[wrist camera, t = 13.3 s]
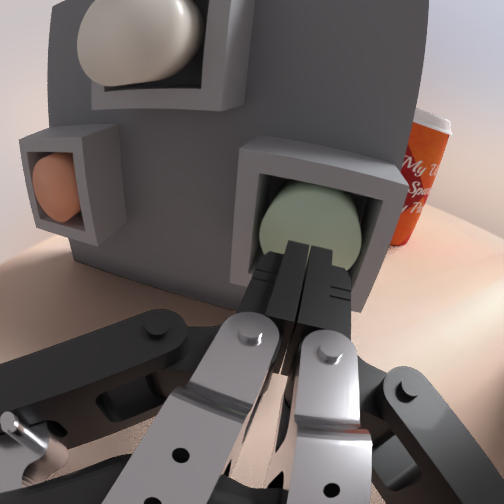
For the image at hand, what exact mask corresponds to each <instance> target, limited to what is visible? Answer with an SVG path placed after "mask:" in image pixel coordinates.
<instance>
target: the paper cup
mask: <svg viewBox="0 0 504 504" xmlns="http://www.w3.org/2000/svg"><path fill="white" fill-rule="evenodd" d="M450 130H451V122H450V121H449V120H447V119H444V118H442V117H439V116H437V115H434V114H431V113H429V112H426V111H423V110H420V109H418V108H416V109H415V114H414V119H413V123H412V128H411V132H410V137H409V141H408V145H407V149H406V153H405V157H404V161H403V165H402V168H401V172H400V173H401V174H402V176H403V177H404V179H405V180H406V182H407V183H408V185H409V186H410V187H409V190H408V193H407V196H406V199H405V202H404V205H403V209H402V212H401V214H400V217H399V220H398V223H397V226H396V229H395V232H394V234H393V237H392V240H391V242H390V245H395V246H400V245H404V244H406V243H407V241H408V240H409V238H410V236H411V234H412V232H413V230H414V228H415V225H416V223H417V221H418V219H419V216H420V214H421V212H422V209H423V207H424V205H425V202H426V200H427V197H428V195H429V192H430V190H431V187H432V184H433V182H434V179H435V176H436V174H437V171H438V168H439V165H440V162H441V159H442V157H443V153H444V151H445V147H446V144H447V141H448V138H449V135H452V132H450Z"/></svg>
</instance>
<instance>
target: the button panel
mask: <svg viewBox="0 0 504 504" xmlns="http://www.w3.org/2000/svg"><path fill="white" fill-rule="evenodd" d="M94 1H95V0H65V1H63V2H61V3H59V4H57V5H55V6H53V7H52V14H51V23H50V34H49V47H48V113H49V127H50V128H47V129H44V130H42V131H39V132H36V133H34V134H31V135H29V136H27V137H24V138H22V139H19V144H20V152H21V159H22V165H23V171H24V176H25V181H26V186H27V191H28V195H29V200H30V205H31V208H32V212H33V216H34V220H35V224H36V228H39V229H42V230H45V231H48V232H52V233H55V234H58V235H61V236H64V237H68V239H69V242H70V246H71V250H72V253H73V257H74V260H75V261H78V262H80V263H83V264H86V265H89V266H92V267H95V268H97V269H100V270H103V271H106V272H109V273H112V274H115V275H118V276H121V277H124V278H127V279H130V280H133V281H136V282H140V283H143V284H146V285H149V286H152V287H155V288H159V289H162V290H165V291H169V292H172V293H175V294H179V295H182V296H186V297H189V298H192V299H196V300H200V301H203V302H207V303H210V304H214V305H218V306H221V307H225V308H229V309H233V310H236V311H237V310H238V308H239V305H240V303H241V301H242V298H243V296H244V294H245V291H246V289H247V287H248V285H249V282H250V280H251V278H252V275H253V273H254V271H255V268H256V266H257V264H258V261H259V259H260V258H261V257H262V256H264V253H263V251H262V248H261V244H260V237H259V235H260V227H261V223H262V220H263V218H264V216H265V214H266V212H267V210H268V208H269V206H270V204H271V202H272V200H273V198H274V196H275V194H276V192H277V191H278V189H279V188H280V187H281V186H282V185H283V184H284V183H285V182H286V181H287V180H289V179H293V180H298V181H303V182H308V183H312V184H317V185H322V186H326V187H330V188H335V189H339V190H343V191H348V192H351V193H352V195H353V197H354V199H355V202H356V205H357V211H358V217H359V224H360V231H361V248H360V252H359V255H358V257H357V259H356V261H355V262H354V264H353V265H352V266H351V267H350V268H349V269H348V270H347V273H348V275H349V277H350V279H351V311H354V312H359V313H361V311H362V309H363V307H364V305H365V303H366V300H367V298H368V296H369V294H370V291H371V289H372V287H373V285H374V282H375V280H376V277H377V275H378V273H379V270H380V268H381V265H382V263H383V260H384V258H385V255H386V253H387V250H388V248H389V245H390V242H391V240H392V237H393V234H394V232H395V229H396V226H397V223H398V220H399V217H400V214H401V212H402V209H403V205H404V202H405V199H406V196H407V193H408V190H409V187H410V186H409V185H408V183H407V182H406V180H405V179H404V177H403V176H402V174H401V173H400V172H401V168H402V165H403V161H404V157H405V153H406V149H407V145H408V141H409V137H410V132H411V128H412V123H413V119H414V114H415V109H416V104H417V98H418V93H419V87H420V81H421V75H422V68H423V61H424V53H425V45H426V35H427V24H428V9H429V0H193V1H194V2H195V4H196V5H197V6H198V8H199V9H200V11H201V13H202V17H203V21H204V34H203V39H202V42H201V45H200V48H199V50H198V52H197V53H196V55H195V57H194V58H193V59H192V61H191V62H190V63H189V64H188V65H187V66H186V67H185V68H184V69H183V70H182V71H180V72H179V73H177V74H176V75H174V76H172V77H170V78H167V79H164V80H160V81H151V82H142V83H134V84H126V85H119V86H104V85H101V84H98V83H96V82H94V81H93V80H91V79H90V78H89V77H88V76H87V75H86V73H85V72H84V70H83V69H82V67H81V65H80V62H79V58H78V53H77V39H78V33H79V28H80V25H81V22H82V20H83V18H84V16H85V14H86V12H87V10H88V9H89V7H90V6H91V4H92V3H93V2H94ZM55 152H69V153H73V160H74V168H75V175H76V182H77V189H78V195H79V201H80V206H81V211H80V212H78V213H77V214H76V215H74V216H73V217H71V218H70V219H69V220H67V221H65V222H58V221H55V220H53V219H52V218H50V217H49V216H48V215H47V214H46V213H45V211H44V210H43V209H42V207H41V206H40V204H39V202H38V200H37V198H36V195H35V192H34V187H33V170H34V167H35V165H36V163H37V162H38V161H39V160H40V159H42V158H44V157H46V156H48V155H50V154H53V153H55Z"/></svg>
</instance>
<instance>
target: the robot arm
mask: <svg viewBox="0 0 504 504" xmlns="http://www.w3.org/2000/svg"><path fill="white" fill-rule="evenodd" d="M309 246H310V245H309V244H304V243H300V242H295V241H291V240H288V243H287V246H286V249H285V253H284V254H281V253H276V252H272V251H269V252H268V253H266V254H265V255H264V256H262V257H261V258H260V259H259V261H258V264H257V266H256V268H255V271H254V273H253V275H252V278H251V280H250V282H249V285H248V287H247V289H246V291H245V294H244V296H243V298H242V301H241V303H240V305H239V308H238V310H237V312H236V314H234V315H232V316H230V317H229V318H227V319H226V320H225V322H224V323H223V324H221V325H218V326H213V327H187V325H186V323H185V321H184V319H183V318H182V317H181V316H180V315H178V314H177V313H175V312H173V311H170V310H165V309H155V310H150V311H147V312H144V313H142V314H139V315H136V316H134V317H131V318H128V319H126V320H123V321H120V322H118V323H115V324H112V325H109V326H107V327H104V328H101V329H99V330H96V331H93V332H90V333H88V334H85V335H82V336H79V337H77V338H74V339H71V340H68V341H65V342H63V343H60V344H57V345H54V346H51V347H49V348H46V349H43V350H40V351H37V352H34V353H31V354H29V355H26V356H23V357H20V358H17V359H14V360H11V361H8V362H5V363H2V364H0V504H370V495H371V482H372V483H373V485H374V486H375V488H376V489H377V491H378V492H379V493H380V495H381V496H382V498H383V499H384V501H385V502H386V504H504V479H503V478H502V477H501V475H500V474H499V472H498V471H497V469H496V468H495V467H494V465H493V464H492V462H491V461H490V460H489V458H488V457H487V455H486V454H485V453H484V451H483V450H482V449H481V447H480V446H479V445H478V443H477V442H476V441H475V439H474V438H473V437H472V435H471V434H470V433H469V431H468V430H467V429H466V427H465V426H464V425H463V424H462V422H461V421H460V420H459V418H458V417H457V416H456V415H455V413H454V412H453V411H452V409H451V408H450V407H449V406H448V404H447V403H446V402H445V401H444V399H443V398H442V397H441V396H440V394H439V393H438V392H437V391H436V390H435V388H434V387H433V386H432V385H431V383H430V382H429V381H428V380H427V379H426V377H425V376H424V375H423V374H422V373H420V372H419V371H417V370H416V369H414V368H411V367H406V366H401V367H396V368H394V369H392V370H391V371H389V372H388V373H386V372H384V371H382V370H379V369H377V368H375V367H373V366H371V365H369V364H368V363H366V362H365V361H363V360H362V359H361V358H360V357H359V356H358V355H357V351H356V348H355V346H354V344H353V343H352V342H351V279H350V277H349V275H348V273H347V271H346V270H345V268H342V267H338V266H333V265H332V255H333V250H331V249H326V248H322V247H318V246H313V245H311V248H310V252H309V256H308V251H309ZM307 257H308V260H307ZM306 262H307V264H306ZM287 345H288V346H287ZM286 349H287V351H286ZM285 352H286V355H285ZM284 355H285V359H284V363H283V367H282V371H281V374H282V375H286V376H288V379H287V383H286V387H285V390H284V393H283V395H282V399H281V404H280V411H279V417H278V423H277V429H276V435H275V441H274V446H273V452H272V456H271V460H270V463H269V466H268V469H267V473H266V477H265V482H264V487H263V488H260V489H256V488H249V487H247V486H244V485H243V484H241V483H239V482H237V481H235V480H233V479H231V478H230V476H231V473H232V471H233V469H234V467H235V464H236V462H237V459H238V457H239V454H240V452H241V449H242V446H243V444H244V442H245V439H246V437H247V435H248V432H249V430H250V427H251V425H252V423H253V420H254V418H255V415H256V413H257V410H258V408H259V405H260V403H261V400H262V398H263V395H264V393H265V392H266V390H267V389H268V386H269V383H270V380H271V376H272V373H277V374H279V371H280V368H281V365H282V362H283V358H284ZM156 415H157V416H156ZM154 416H156V417H155V419H154V421H153V422H152V424H151V426H150V427H149V429H148V430H147V432H146V434H145V435H144V437H143V438H142V440H141V442H140V443H139V445H138V446H137V448H136V450H135V451H134V453H133V454H126V455H121V456H117V457H113V458H110V459H107V460H105V461H102V462H100V463H97V464H95V465H92V466H89V467H87V468H84V469H81V470H78V471H76V472H73V473H70V474H67V475H64V476H61V477H58V478H55V479H51V480H48V481H46V479H47V478H48V477H49V476H50V475H51V474H52V473H55V472H57V471H59V470H60V469H61V468H62V467H64V466H65V465H66V463H67V449H70V448H74V447H77V446H80V445H82V444H85V443H88V442H91V441H94V440H97V439H99V438H102V437H105V436H108V435H110V434H113V433H115V432H118V431H120V430H123V429H125V428H128V427H130V426H133V425H135V424H138V423H140V422H142V421H145V420H147V419H149V418H152V417H154Z"/></svg>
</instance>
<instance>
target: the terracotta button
mask: <svg viewBox="0 0 504 504" xmlns="http://www.w3.org/2000/svg"><path fill="white" fill-rule="evenodd" d="M33 187H34V192H35V195H36V198H37V200H38V202H39V204H40V206H41V207H42V209H43V210H44V211H45V213H46V214H47V215H48V216H49V217H50V218H52V219H53V220H55V221H58V222H65V221H67V220H69V219H70V218H71V217H73V216H74V215H76V214H77V213H78V212H80V211H81V206H80V201H79V195H78V189H77V182H76V175H75V168H74V160H73V153H69V152H55V153H53V154H50V155H48V156H46V157H44V158H42V159H40V160H39V161H38V162H37V163H36V165H35V167H34V170H33Z"/></svg>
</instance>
